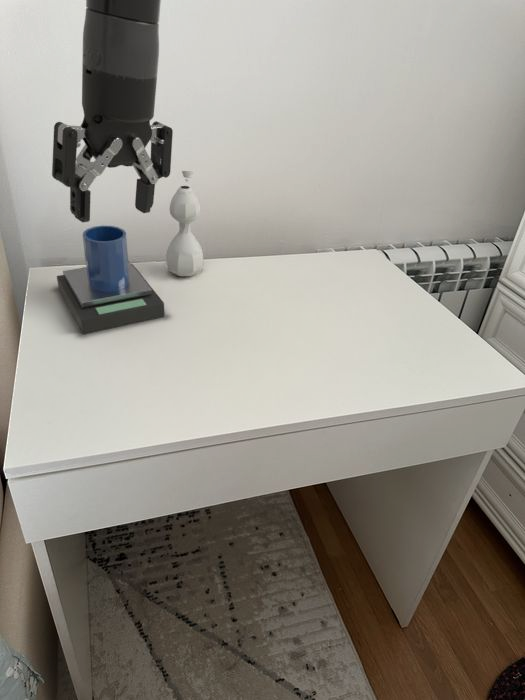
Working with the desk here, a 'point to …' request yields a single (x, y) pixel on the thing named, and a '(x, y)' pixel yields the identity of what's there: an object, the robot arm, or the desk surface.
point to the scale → (111, 310)
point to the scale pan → (93, 297)
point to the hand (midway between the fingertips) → (113, 215)
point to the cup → (106, 258)
